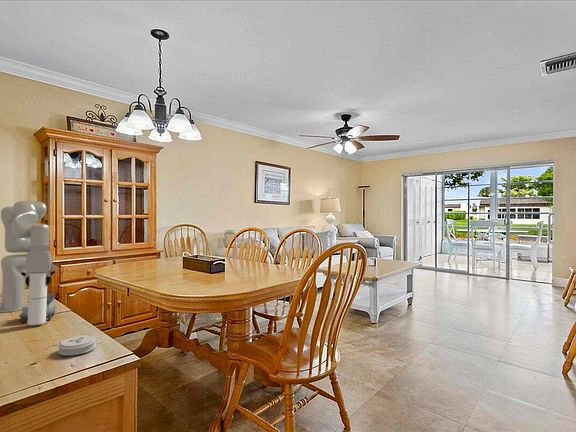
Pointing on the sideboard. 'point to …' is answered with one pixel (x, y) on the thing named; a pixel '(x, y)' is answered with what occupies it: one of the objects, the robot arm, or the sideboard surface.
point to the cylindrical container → (37, 298)
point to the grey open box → (49, 308)
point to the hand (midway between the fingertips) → (38, 284)
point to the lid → (77, 345)
